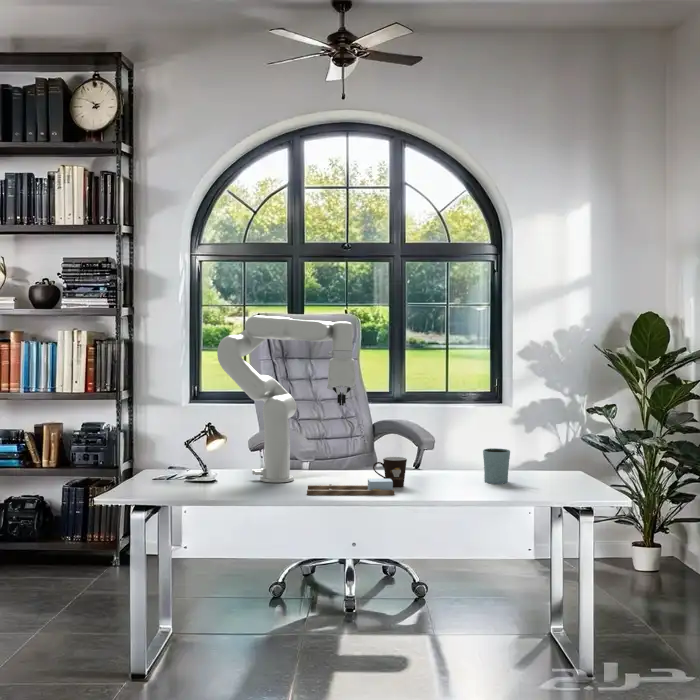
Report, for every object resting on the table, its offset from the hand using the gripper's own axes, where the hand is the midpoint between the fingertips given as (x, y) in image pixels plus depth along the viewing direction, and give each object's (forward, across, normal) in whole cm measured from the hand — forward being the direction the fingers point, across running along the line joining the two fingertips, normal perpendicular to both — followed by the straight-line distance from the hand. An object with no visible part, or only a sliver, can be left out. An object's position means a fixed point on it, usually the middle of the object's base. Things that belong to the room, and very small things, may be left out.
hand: (341, 405), depth 332 cm
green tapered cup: (+29, +58, +4) cm, 65 cm away
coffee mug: (+29, +18, -4) cm, 35 cm away
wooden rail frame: (+29, +4, -18) cm, 34 cm away
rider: (+29, +14, -17) cm, 37 cm away
